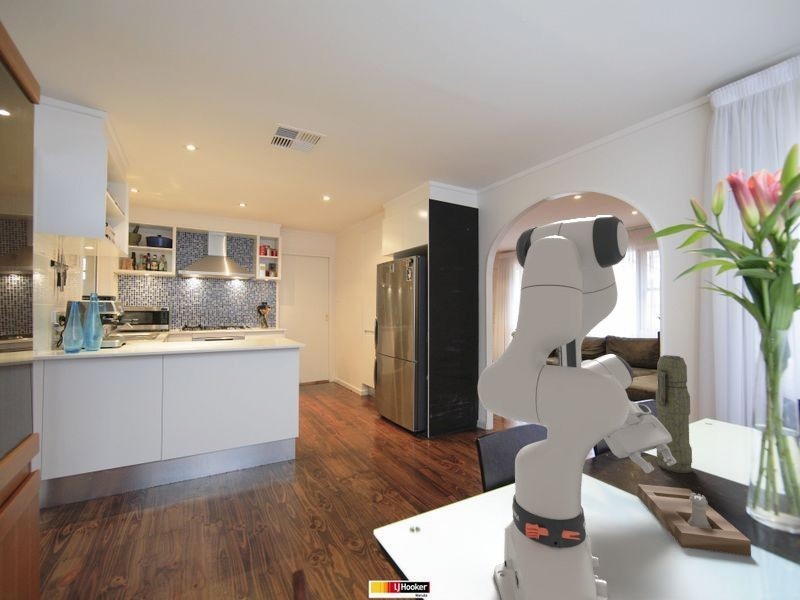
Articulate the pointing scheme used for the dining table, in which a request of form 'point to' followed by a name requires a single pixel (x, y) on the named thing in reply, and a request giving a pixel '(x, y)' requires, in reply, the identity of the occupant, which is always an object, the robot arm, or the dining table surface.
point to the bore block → (677, 511)
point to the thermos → (674, 411)
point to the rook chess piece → (698, 512)
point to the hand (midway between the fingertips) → (662, 468)
